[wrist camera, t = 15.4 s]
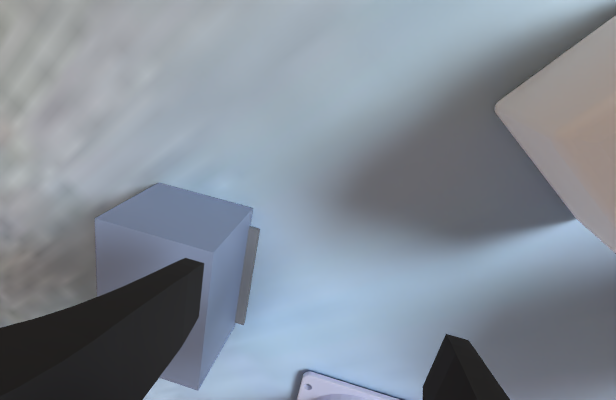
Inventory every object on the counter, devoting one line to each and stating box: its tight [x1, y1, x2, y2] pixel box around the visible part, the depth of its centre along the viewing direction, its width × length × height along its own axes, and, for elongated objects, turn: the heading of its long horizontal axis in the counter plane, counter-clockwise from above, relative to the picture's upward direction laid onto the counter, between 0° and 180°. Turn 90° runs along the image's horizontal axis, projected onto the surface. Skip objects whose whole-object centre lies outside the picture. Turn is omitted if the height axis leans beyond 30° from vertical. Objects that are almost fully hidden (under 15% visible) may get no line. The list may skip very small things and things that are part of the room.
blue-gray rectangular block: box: [95, 183, 253, 390], centre depth 21 cm, size 9×6×5 cm
